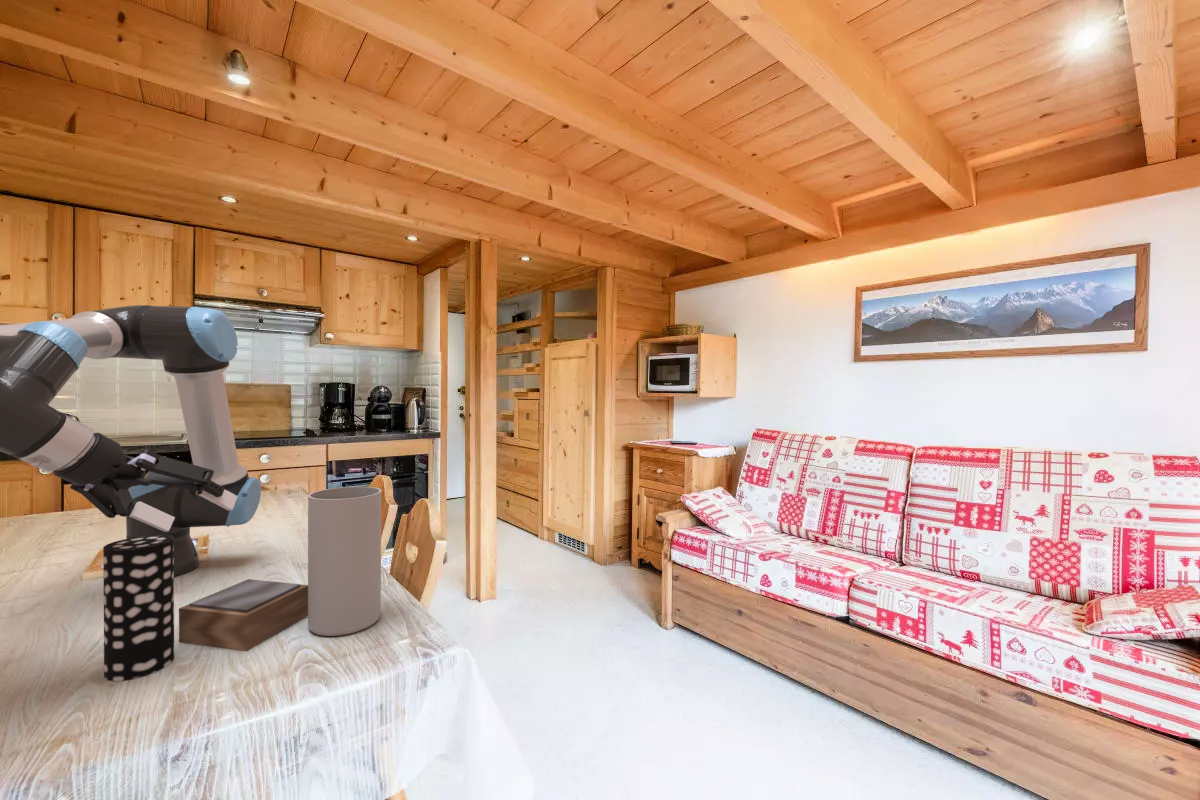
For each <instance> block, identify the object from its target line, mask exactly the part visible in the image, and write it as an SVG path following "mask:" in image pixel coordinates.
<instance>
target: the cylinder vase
mask: <svg viewBox="0 0 1200 800" xmlns="http://www.w3.org/2000/svg"><path fill="white" fill-rule="evenodd" d="M307 523H308V524H307V585H308V616H307V627H308V629H309V631H310V632H311V633H313V634H315V635H319V636H322V637H324V636H325V637H336V636H344V635H350V634H354V633H357V632H360V631H363V630H366V629H367V628H369V627H371V626H373V625H374V624H375V623H376V622H377V621H378V620H379V619H380V617H381V615H382V614H381V613H382V603H381V602H382V489H381V488H378V487H374V486H341V487H335V488H334V487H333V488H332V487H331V488H327V489H321V490H317V491H313V492H311V493H308V495H307Z"/></svg>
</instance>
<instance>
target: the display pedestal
mask: <svg viewBox="0 0 1200 800" xmlns="http://www.w3.org/2000/svg"><path fill="white" fill-rule="evenodd" d="M305 618H308V584H300V583H291V582H281V581H271V580H262V579H250V578H249V579H245V580H243V581H241V582H238V583H236V584H233V585H231V586H229V587H227V588H224V589H222V590H219V591H217V592H214V593H212V594H209V595H207V596H204V597H202V598H200V599H198V600H194V601H192V602H190V603H188V604H186V605H184V606H181V607H179V608H178V642H179V643H183V644H191V645H198V646H205V647H215V648H220V649H221V648H222V649H229V650H238V651H244V652H245V651H246V652H247V651H249V650H251V649H252V648H254V647H256V646H258V645H259V644H262V643H263V642H265V641H267V640H268V639H270V638H271V637H273V636H275V635H277V634H279V633H281V632H282V631H284V630H286V629H288V628H289V627H292V626H293V625H294V624H296V623H298V622H300V621H302V620H303V619H305Z"/></svg>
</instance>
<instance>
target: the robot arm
mask: <svg viewBox="0 0 1200 800" xmlns="http://www.w3.org/2000/svg"><path fill="white" fill-rule="evenodd" d="M238 346H239V345H238V337H237V333H236V330H235V327H234V325H233V323H232V321H231V320H230V319H229V317H228V316H227V315H225V314H224V312H223V311H220V310H218V309H215V308H208V307H207V308H205V307H200V306H181V305H179V306H173V305H171V306H169V305H147V304H144V305H143V304H141V305H140V304H138V305H137V304H136V305H125V306H124V305H123V306H118V307H112V308H111V307H110V308H105V309H104V308H102V309H98V310H97V309H96V310H90V311H89V310H88V311H81V312H78V313H76V314H74V315H72V316H71V317H70V318H61V319H53V320H42V321H41V320H40V321H33V322H23V323H12V324H2V325H1V324H0V452H2V453H4V454H6V455H9V456H11V457H14V458H15V459H18V460H20V461H22V462H25V463H28V464H29V465H30V466H31V467H33V468H38V469H41V470H43V471H45V472H47V473H48V472H52V473H53V475H54V476H55V477H57V478H59V479H63V480H64V481H66V482H69V483H71V484H70V486H69V488H70V489H71V490H72V491H75V492H77V494H78V493H79V494H81V495H82V496H83V497H85V499H86V500H88V501H89V502H90V503H91V504H92V505H93V506H94V507H95V508H96V509H98V510H99V512H101V513H102V514H103V515H104V516H105V517H106V518H109V519H115V518H116V516H120V517H124V518H125V519H126V521H125V522H126V528H125V529H126V532H125V533H126V539H129V538H134V537H141V536H151V535H169V536H172V537H174V577H176V576H180V575H183V574H185V573H189V572H191V571H193V570H195V569H196V568H198V567H199V565H200V557H199V553H198V551H197V549H196V547H195V544H194V542H193V539H192V538H191V533H190V532H191V528H205V527H207V528H208V527H231V526H240V525H241V526H242V525H245V524H247V523H248V522H250V521H251V520H252V519H253V518H254V516H255V514H256V512H257V510H258V507H259V504H260V500H261V495H262V494H261V492H262V485H261V482H260V480H259V479H258V478H257V477H254V476H251V477H249V472H248V468H247V467H246V466H245V465H243V464H240V463H239V459H238V453H237V447H236V441H235V436H234V430H233V429H234V428H233V425H232V419H231V412H230V408H229V400H228V397H227V396H228V395H227V390H226V384H225V378H224V372H225V371H226V370H227V369H228V368H229V367H230V361H232V360H233V359H234V358H235V357H236V356H237V353H238ZM84 358H87V359H91V360H106V359H110V358H113V359H114V358H121V359H137V360H138V359H139V360H140V359H141V360H157V361H158V360H160V361H162V366H163V368H164V369H163V370H164V372H165V373H167V374H168V375H171V377H174V379H175V383H176V388H177V394H178V398H179V403H180V407H181V408H180V409H181V412H182V417H183V423H184V426H185V432H186V436H187V441H188V446H189V450H190V455H191V459H192V463H189V462H185V461H182V460H181V461H180V460H179V459H173V458H170V457H168V456H163V455H160V454H158V453H157V452H156V453H155V452H154V451H152V450H148V449H142V450H141V452H140V453H139V455H138V456H136V457H134V456H129V455H126V454H125V453H124V452H123V449H122V445H121V444H120V443H119V442H117V441H115V440H113V439H111V438H110V437H108V436H106V435H104V434H102V433H100V432H94V430H93V428H91V427H89V426H88V425H86V424H84V423H82V422H80V421H78V420H76V419H75V418H72V417H70V416H69V415H66V414H65V413H63V412H62V411H59V410H57V409H56V408H54V407H52V406H50V404H51V402H52V401H53V400H54V399H55V397H56V396H57V395H58V393H59V392H60V391H61V389H63V387H64V386H65V384H67V382H69V379H71V378H72V376H73V375H74V374H75V372H77V371H78V370H79V368H80V365H81V363H82V361H83V360H84ZM147 471H148V472H147Z"/></svg>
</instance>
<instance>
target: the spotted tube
mask: <svg viewBox="0 0 1200 800" xmlns="http://www.w3.org/2000/svg"><path fill="white" fill-rule="evenodd" d="M102 552H103V555H102V556H103V557H102V558H103V566H102V567H103V677H104V679H105V680H107V681H110V680H111V681H112V682H121V681H129V680H134V679H138V678H142V677H146V676H149V675H151V674H154V673H156V672H159V671H160V670H162V669H164V668H166V667H168V666H169V665H170V664H172V662H173V661H174V660H175V579H174V578H175V576H174V537H172V536H169V535H151V536H141V537H134V538H129V539H120V540H116V541H113V542H110V543H107V544H105V545H104V546H103V551H102ZM111 681H110V682H111Z"/></svg>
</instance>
